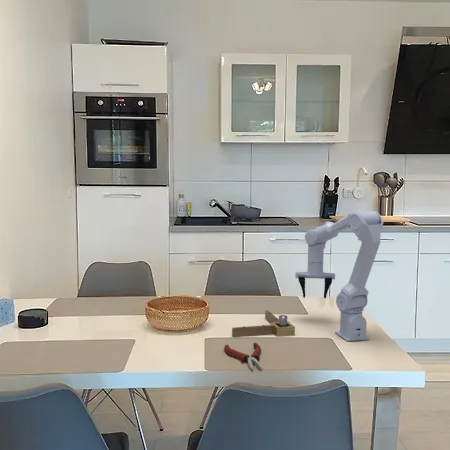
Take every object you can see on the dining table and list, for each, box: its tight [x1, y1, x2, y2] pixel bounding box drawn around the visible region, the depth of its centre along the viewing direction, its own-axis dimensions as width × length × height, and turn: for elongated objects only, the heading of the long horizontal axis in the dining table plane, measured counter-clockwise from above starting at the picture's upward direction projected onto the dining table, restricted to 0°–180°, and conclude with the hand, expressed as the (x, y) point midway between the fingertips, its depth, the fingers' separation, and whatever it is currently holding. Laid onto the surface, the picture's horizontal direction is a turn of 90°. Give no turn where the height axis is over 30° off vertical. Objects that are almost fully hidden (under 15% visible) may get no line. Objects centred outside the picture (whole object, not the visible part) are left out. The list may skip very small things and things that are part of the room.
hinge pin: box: [278, 314, 288, 327], centre depth 190 cm, size 3×3×6 cm
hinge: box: [231, 310, 296, 338], centre depth 195 cm, size 22×22×3 cm
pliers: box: [223, 342, 263, 372], centre depth 165 cm, size 12×20×3 cm, turn 13°
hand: (314, 297), depth 202 cm, fingers open, 7 cm apart
